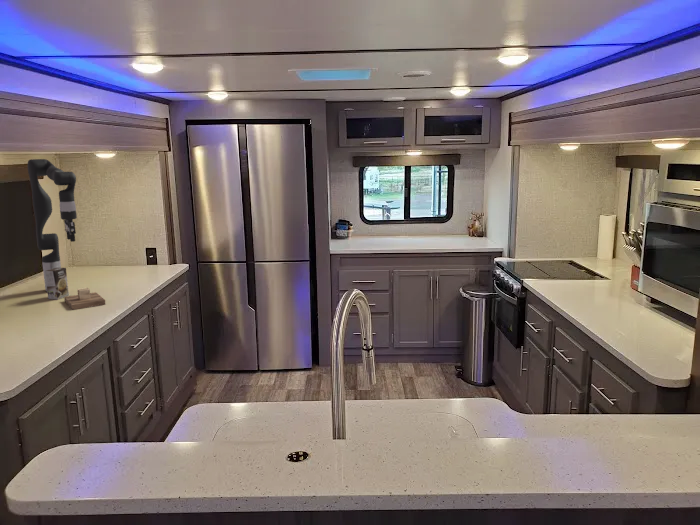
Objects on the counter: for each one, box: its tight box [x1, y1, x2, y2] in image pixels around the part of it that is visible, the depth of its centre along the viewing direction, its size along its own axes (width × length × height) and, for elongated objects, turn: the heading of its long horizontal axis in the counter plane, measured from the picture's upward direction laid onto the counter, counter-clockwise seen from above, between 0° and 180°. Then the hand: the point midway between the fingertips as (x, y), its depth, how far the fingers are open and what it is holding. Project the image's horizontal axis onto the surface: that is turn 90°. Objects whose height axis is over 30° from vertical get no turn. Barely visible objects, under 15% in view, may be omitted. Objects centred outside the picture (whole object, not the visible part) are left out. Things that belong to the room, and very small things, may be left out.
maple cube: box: [76, 287, 91, 300], centre depth 293 cm, size 5×5×5 cm
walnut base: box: [63, 291, 106, 311], centre depth 294 cm, size 20×16×2 cm
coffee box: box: [45, 267, 70, 300], centre depth 304 cm, size 9×6×16 cm
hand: (71, 240), depth 293 cm, fingers open, 8 cm apart
